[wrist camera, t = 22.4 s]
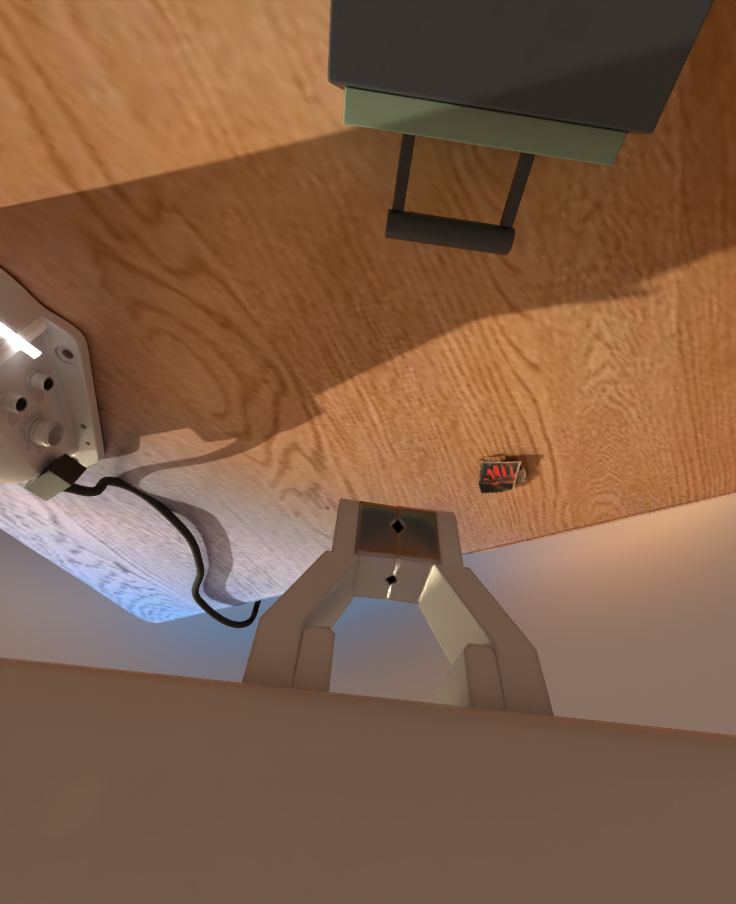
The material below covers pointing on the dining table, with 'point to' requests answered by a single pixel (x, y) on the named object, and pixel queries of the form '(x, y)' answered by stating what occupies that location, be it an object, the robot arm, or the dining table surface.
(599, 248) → the dining table surface
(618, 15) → the black storage box
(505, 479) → the matchbox
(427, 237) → the drawer
